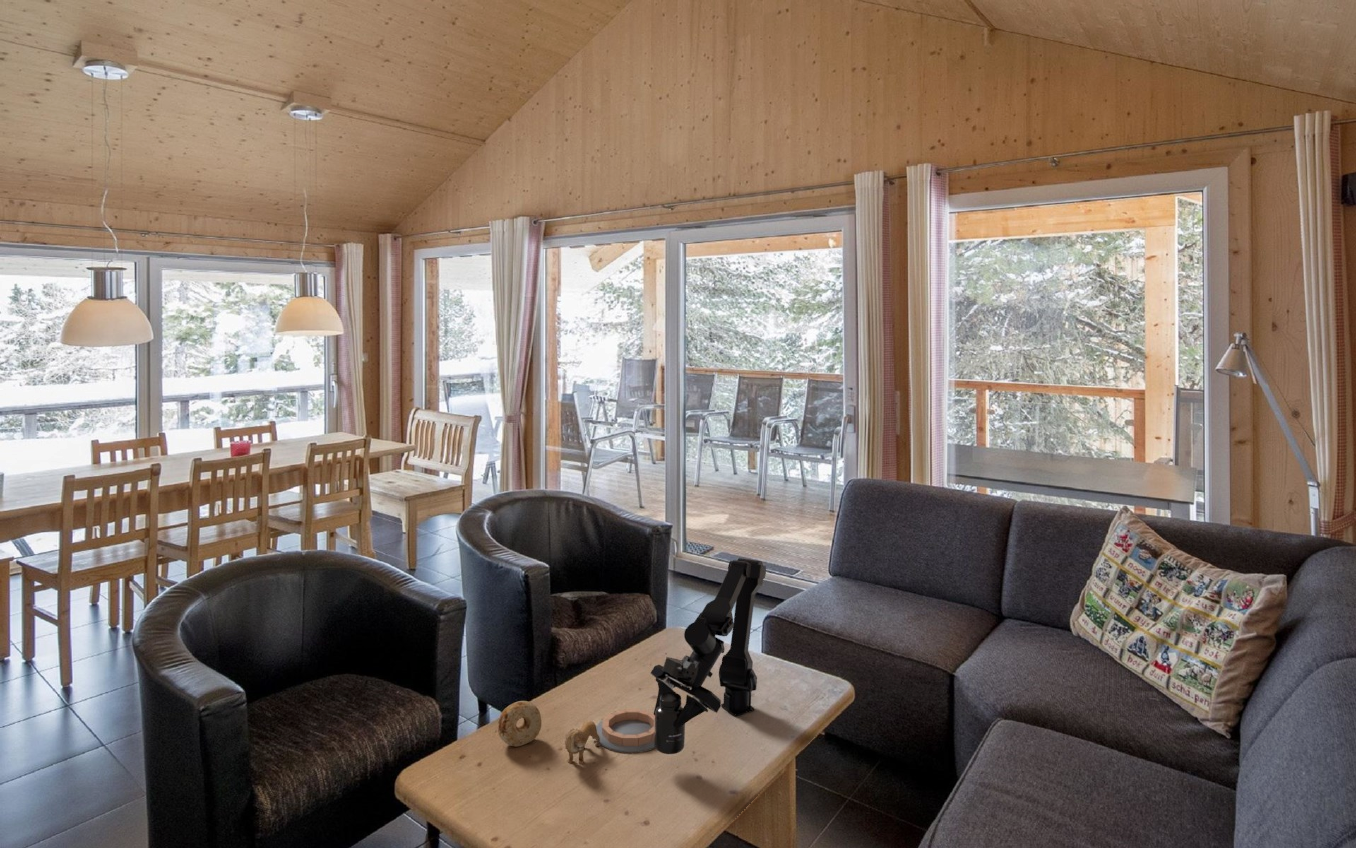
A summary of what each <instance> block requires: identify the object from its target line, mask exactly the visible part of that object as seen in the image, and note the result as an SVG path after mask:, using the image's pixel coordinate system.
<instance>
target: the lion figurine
mask: <svg viewBox="0 0 1356 848" xmlns="http://www.w3.org/2000/svg"><path fill="white" fill-rule="evenodd" d="M596 726H597V725H596V723H595V722H594V721H592V720H589V721H586V722H584V723H582V724H581V726H580V728H572V729H570V730H569V731H567V734H566V735H565V740H564V745H565V746H564V747H565V749H566V750H567V752H568V757H569V758H568V759H567V763H569V764H571V763H573V760H574V756H573V755H577V754H578V764H580V765H583V764H584V763H585V760H584V750H585V747H586V744H587V742H588V740H589V737H591V739H592V740H593V739H594V740H595V742H594V743H595V744H594V745H595V747H600V746H601V745H600V737H599V735H598V734H597V729H596ZM596 740H597V741H596Z"/></svg>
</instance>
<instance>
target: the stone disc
mask: <svg viewBox="0 0 1356 848" xmlns="http://www.w3.org/2000/svg"><path fill="white" fill-rule="evenodd" d="M541 716H542V715H541V712H540V709H539V708H538V707H537V705H536V704H534V703H533V702H530V701H527V700H519V701H516V702H513V703H511V704H509V705H508V706H507V707H505V708H504V709H503V710H502V712H501V713H500V716H499V718H498V728H497V729H498V735H499V737H500V739H501V741H503V743H505V744H507V745H508V746H510V747H521V746H524V745H527V744H529V743H532V741H535V739H536V738H537V736H539V734H540V732H541V729H542V717H541ZM521 719H523V723H522V724H521V725H520V726H517V723H518V721H520V720H521Z"/></svg>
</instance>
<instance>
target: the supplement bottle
mask: <svg viewBox="0 0 1356 848" xmlns="http://www.w3.org/2000/svg"><path fill="white" fill-rule="evenodd" d="M659 705H660V706H658V707H657V709H656V711H655V738H654V745H655V748H654V749H655V750H656V751H657V752H659V753H660V754H664V755H665V754H666V755H675V754H678V753H681V752H682V751H683V749H684V748H685V739H686V738H685V736H686V734H685V733H686V723H685V724H683V725H682V726H680V727H679V728H675V727H674V724H675V722H676V720H677V718H678V716H679V715H680V713H681V711H682V709H683V708H684V706H682V697H681V695H680V694H678V693H677V692H676V693H673V692H668V693H664V694H662V695H661V696H660V702H659Z"/></svg>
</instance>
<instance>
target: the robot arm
mask: <svg viewBox="0 0 1356 848" xmlns="http://www.w3.org/2000/svg"><path fill="white" fill-rule="evenodd" d="M766 575H767V566H766V565H764V563H763V561H762V560H758V559H751V558H744V557H743V558H742V557H739V558H737V560H736V559H734V560H729V563H728V567H727V572H726V574H725V576H724V578H723V581H722V582H721V584H720V587H719V590H718V592H717V593H716V596H715V598H714V599H712V600H711V601H710V602H707V603H706V604H705V606H704V608H703V610H702V612H700V613H699V615H698V616H697V617H696V619H695V620H694V621H693V622H692V623H690V624H689V625H688V626H687V627H686V628H685V630H684V633H683V636H684V640H685V642H686V643H687V644H688V646H689V647H690V648H691V650H692V652H691V654H690V655H689V656H688V655H687V654H686V655H685V656H683V658H682V660H681V659H678V658H673V657H670V656H666V658H665V659H664V660H665V661H664V664H663V665H661V664H657V665H656V664H655V665H654V667H653V668H652V670H651V671H650V675H652V676H653V677H654V678H655V682H657V686H658V687H657V688H658V692H657V697H656V701H655V707H654V709H653V714H654V715H655V711H656V709H657V707H658V706H660V705H659V702H660V696H661V695H662V694H664V693H668V692H673V693H677V692H676V691H675V690H673V689H675V688H677V689H679V690H681V691H682V692H685V693H687V694H686V697H685V698H686V699H685V704H684V706H683V709H682V711H681V713H680V715H679V716H678V718H677V720H676V722H675V724H674V727H675V728H679V727H680V726H682V725H683V724H685V725H686V723H687V722H689V721H690V720H693V719H694V718H695V717H697V716H699V715H701V714H703V713H704V712H705V713H708V712H709V710H710V711H712V712H714V713H716V714H717V713H718V711H719V710H720V708H723V709H724V710H725V711H727V712H728V713H730V714H731V715H733V716H734V717H737V716H741V715H744V714H746V713H750V712H753V711H755V707H754V706H752V692H754V691H757V685H758V676H757V675H756V673H755V671H754V669H753V667H754V666H753V664H754V662H753V659H752V657H751V654H750V652H749V646H750V645H749V644H750V636H751V630H752V621H753V612H754V605H755V604H754V603H755V596H756V594H757V593H758V591H759V590H760V589H761V587H762V586H763V583H764V579H765V578H766ZM734 607H735V609H734ZM733 609H734V616H733V613H732V611H733ZM730 633H731V639H730V647H729V650H728V651H727V652H726V653H725V646H724V645H725V641H724V640H722V639H720V638H718V637H716V636H719V637H727V636H729V634H730ZM724 653H725V654H724ZM721 654H724V655H723V656H722V657H721V664H720V665H719V668H718V678H719V685H720V687H723V688H724V692H723V703H722V701H721V699H720V698H719V696H717V695H716V694H715V693H714V692H712V691H711V690H710V689H708V688H706V687H704V686H702V685H703V684H704V682H705V681H706V679H707V678H708V677H709V678H711V677H712V676H713V673H712V669H713V667H714V666H715V664H716V663H717V660H718V659H719V657H720V655H721Z"/></svg>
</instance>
